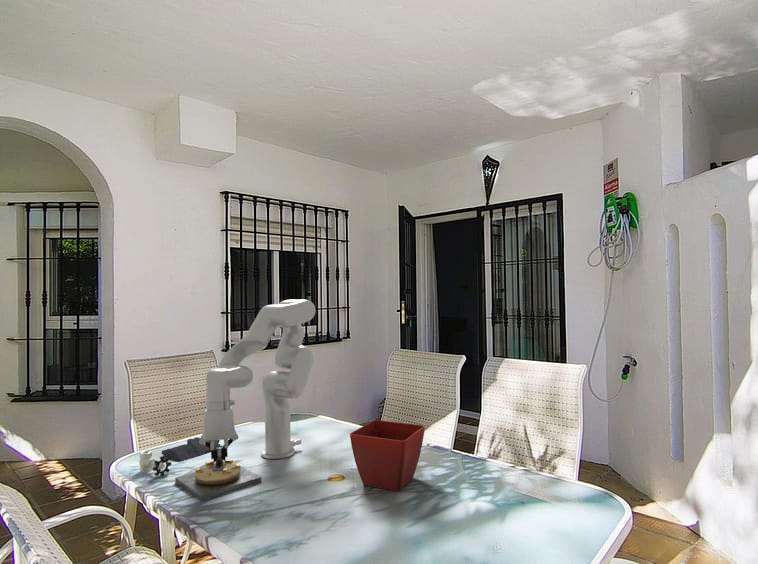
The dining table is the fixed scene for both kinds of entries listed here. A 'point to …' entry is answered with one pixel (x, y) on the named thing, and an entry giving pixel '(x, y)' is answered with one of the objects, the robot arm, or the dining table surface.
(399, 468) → the plant pot
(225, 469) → the brass crank wheel
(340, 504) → the dining table surface
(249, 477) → the housing
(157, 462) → the valve
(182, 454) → the dark slate chunk
